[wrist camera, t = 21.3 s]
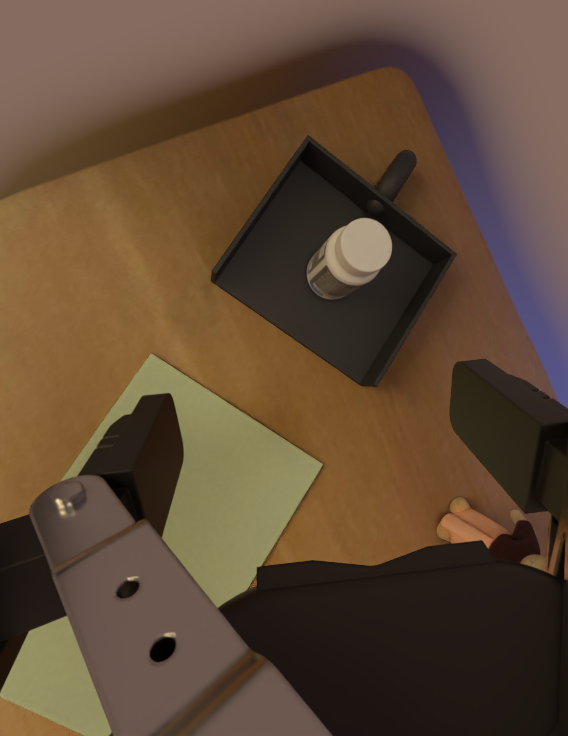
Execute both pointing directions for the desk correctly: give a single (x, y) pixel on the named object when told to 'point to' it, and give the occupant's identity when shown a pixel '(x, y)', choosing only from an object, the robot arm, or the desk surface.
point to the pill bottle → (349, 258)
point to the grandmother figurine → (492, 534)
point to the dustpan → (307, 235)
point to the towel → (179, 530)
